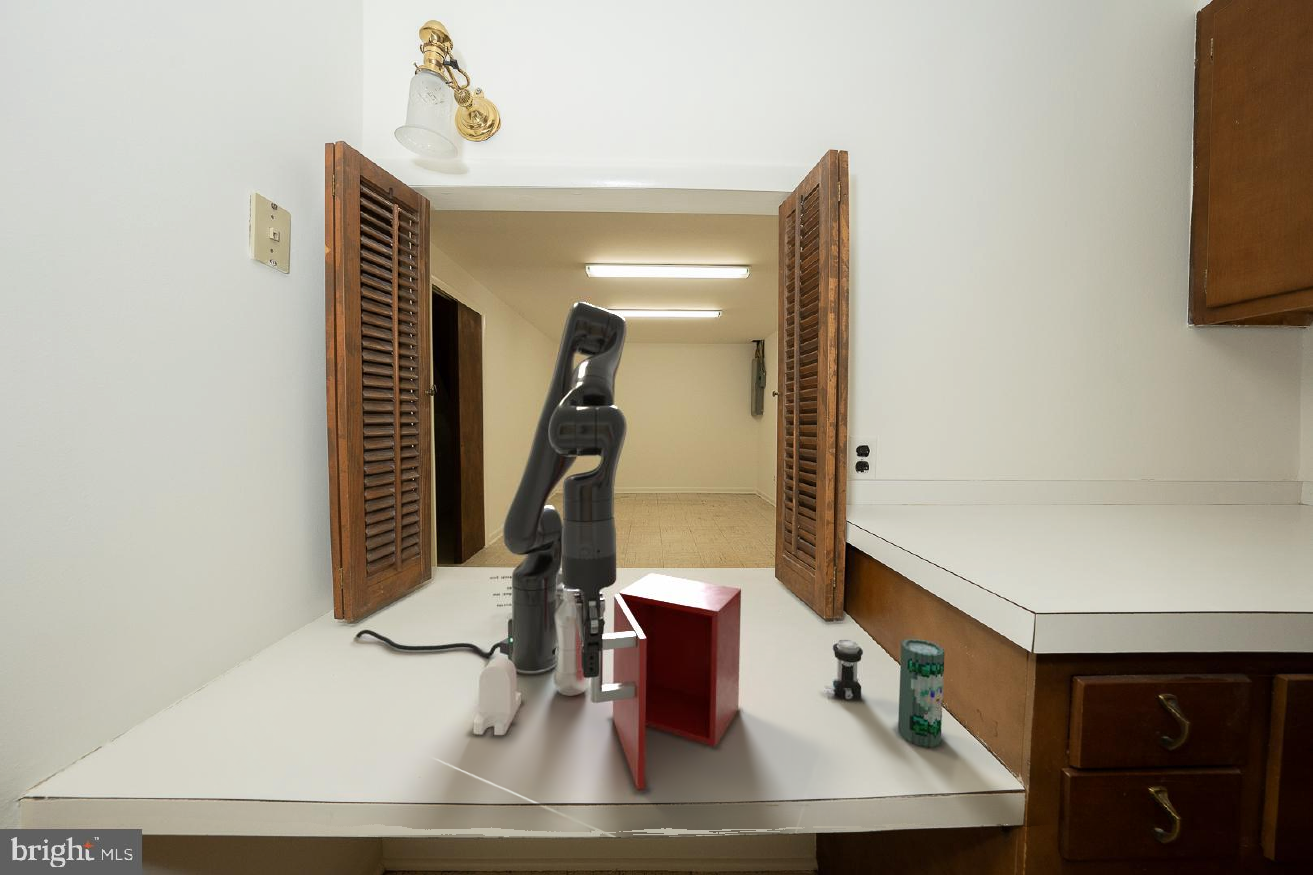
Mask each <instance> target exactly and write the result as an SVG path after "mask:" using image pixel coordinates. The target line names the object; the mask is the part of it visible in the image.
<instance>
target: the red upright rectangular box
mask: <svg viewBox="0 0 1313 875" xmlns="http://www.w3.org/2000/svg"><path fill="white" fill-rule="evenodd" d="M619 594H620V596H621V597H622V599H623V601H624V602H625V604H626V606H627V607H628V609H629V610H630V612H631V614H632V615H633V617H634V619H635V620H636V622H637V623H638V625H639V627H640V628H641V630H642V632H643V633H644V635H645V636H646V638H647V643H646V715H645V726H648V727H651V728H654V729H658V730H661V731H665V732H667V733H670V734H674V735H676V736H681V737H684V738H687V739H689V740H692V741H696V742H700V743H703V744H705V745H708V746H712V747H716V746H717V744H718V743H719V741H720V739H721V738H722V737H723V735H724V733H725V731H726V730H727V728H728V727H729V726H730V723H731V722H732V720H733V719H734V718H735V715H736V714H737V712H738V711H739V700H740V699H739V694H740V658H741V657H740V655H741V654H740V653H741V651H740V650H741V610H742V608H741V606H742V589H741V588H737V587H732V586H725V585H719V584H714V583H707V582H701V581H696V580H690V579H685V578H678V577H672V576H666V575H661V574H655V573H649V574H648V575H647V576H645V577H643V578H642V579H640V580H637V581H636V582H634V583H633V584H631V585H630V586H628V587H626V588H624V589H623V590H621V591H619V592H618V595H619Z"/></svg>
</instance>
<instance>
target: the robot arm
mask: <svg viewBox="0 0 1313 875" xmlns="http://www.w3.org/2000/svg"><path fill="white" fill-rule="evenodd" d="M626 338H627V321H626V319H625V318H624V317H623V316H622V315H620V314H618V313H616V312H613V311H611V310H608V309H605V308H602V307H599V306H595V305H592V304H589V303H588V302H587V303H586V302H583V301H575V303H574V304H573V305H572V306H571V308H570V310H569V312H568V315H567V317H566V320H565V324H564V328H563V332H562V335H561V339H560V340H561V341H560V344H559V349H558V353H557V357H556V361H555V365H554V369H553V374H552V378H551V382H550V384H549V388H548V391H547V394H546V398H545V401H544V402H543V403H544V404H543V407H542V410H541V413H540V416H539V418H538V421H537V426H536V428H535V433H534V436H533V439H532V443H531V448H530V451H529V454H528V458H527V460H526V463H525V467H524V470H523V473H522V476H521V479H520V481H519V484H518V487H517V489H516V492H515V494H514V497H513V499H512V502H511V504H510V506H509V509H508V511H507V514H506V516H505V519H504V523H503V529H502V536H503V542H504V545H505V548H506V549H507V550H508V551H509V552H510V553H511V554H513V555H517V556H525V557H524V559H523V560H522V562H520V564H518V565H517V566H515V567H514V569H513V570H512V574H511V577H512V578H511V588H512V589H511V593H512V594H511V618H509V619H508V621H507V637H506V638H505V639H503V640H500V641H499V642H497V643H495V644H493V645H492V646H491V647H490V650H489V651H488V652H485V651H483V650H482V649H481V648H480V647H478V646H477V645H475V644H473V643H469V642H455V643H447V644H438V645H405V644H400V643H396V642H395V641H393V640H392V639H390V638H388V637H386V636H384V635H382V634H379V633H378V632H376V631H373V630H371V629H362V630H360V631H359V632H357V634H356V635H355V637H357V638H360V637H362V636H363V635H369V636H372V637H373V638H376V639H377V640H379V641H382V642H384V643H386V644H388V645H389V646H390V647H392V648H393V649H397V650H402V651H418V652H419V651H441V650H449V649H457V648H458V649H459V648H465V649H472V650H474V651H475V652H476V653H477V654H478V655H480V656H481V657H483V658H490V657H492V656H493V655H494V653H495V651H496V650H497V649H498V648H499V653H500V654H503V655H507V659H509V660H510V661H512V663H513V664H514V666H515V668H516V674H517V673H518V674H520V675H521V674H522V675H539V674H543V673H547V672H549V671H551V670H553V669H555V668H556V663H557V634H556V627H555V620H554V614H555V611H556V609H557V577H558V573H559V571H562V583H563V584H564V586H566V587H568V588H570V589H574V590H576V589H578V590H579V591H577V594H576V595H574V603H575V607H576V622H577V626H578V632H579V635H580V636H579V639H580V642H582V643H581V666H582V669H583V676H584V677H585V678H589V679H591V678H592V677H597V676H598V675H599V651H602V648H603V644H602V643H603V634H604V631H605V624H606V621H605V619H604V618H605V617H604V616H605V615H604V613H605V612H606V598H605V597H604V594H603V592H601V591H602V590H603V589H605V588H609V587H612V586H613V585H614V584H615V583H616V582H617V530H616V521H615V485H616V476H617V470H618V465H619V461H620V459H621V458H620V457H621V454H622V451H623V447H624V444H625V440H626V436H627V432H628V431H627V430H628V426H627V424H628V423H627V420H626V416H625V415H624V413H623V412H622V410H621V409H620V408H619V407H617V406H615V396H616V378H617V373H618V370H619V368H620V364H621V360H622V356H623V351H624V347H625V343H626ZM576 354H578V355H581V356H584V357H587V358H585V359H582V361H580V362H579V363H578V364H577V365H576V367H575V357H576ZM578 457H600V462H599V464H598V465H597V466H596V467H595V468H593V469H591V470H588V471H583V472H579V473H574V474H571V475H569V476H567V477H565V476H566V474H567V473H568V472H569V471H570V469H571V468H572V467H573V465H574V463H575V462H576V460H577V459H578ZM564 477H565V479H564V481H563V485H562V518H561V515H560V513H559V511H558V510H557V508H555V507H554V506H553V505H550V504H547V501H548V500H549V497H550V495H551V494H552V492H553V491H554V490H555V488H556V487H557V485H558V484H559V483H560V482H561V481H562V479H563V478H564Z"/></svg>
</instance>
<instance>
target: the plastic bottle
mask: <svg viewBox="0 0 1313 875" xmlns="http://www.w3.org/2000/svg"><path fill="white" fill-rule="evenodd" d="M577 591H579V590H578V589H576V590H574V589H570V588H568V587H566V586H563V588H562V598H563V600H562V602H561V603H560V604H559V606H558V607H557V609H556V611H555V614H554V620H555V627H556V634H557V663H556V666H555V667H554V675H553V684H554V688H555V690H557V692H558V693H559V694H561V695H563V696H566V697H567V696H569V697H573V696H578V695H581V694H583V693H584V692H585V690H587V688H588V686H589V682H590V678H585V677H584V676H583V669H582V666H581V643H582V642H580V639H579V636H580V635H579V632H578V626H577V622H576V607H575V603H574V595H576V594H577Z"/></svg>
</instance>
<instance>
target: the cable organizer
mask: <svg viewBox="0 0 1313 875" xmlns="http://www.w3.org/2000/svg"><path fill="white" fill-rule="evenodd" d="M478 679H479V680H478V709H479V710H478V713H477V715H476V716H475V718H474V720H473V734H474V735H483V734H484V732H485V731H486V729H487V728H489V727H494V728H493V732H494V733H493V735H494V736H503V735H505V734H506V733H507V731H508V729H509V727H510V725H511V723H512V721H513V720H514V718H515V716H516V714H517V712H518V710H519V708H520V706H521V704H522V693H521V692H520V691H517V672H516V668H515V666H514V664H513V663H512V661H510V660H509V659H508V657H504V656H499V657H495V658H492V659H491V660H490V661H489V662H488V664H487V665H486V667H485V668H484V669H483V671H481V673H480V675H479V678H478Z"/></svg>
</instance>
